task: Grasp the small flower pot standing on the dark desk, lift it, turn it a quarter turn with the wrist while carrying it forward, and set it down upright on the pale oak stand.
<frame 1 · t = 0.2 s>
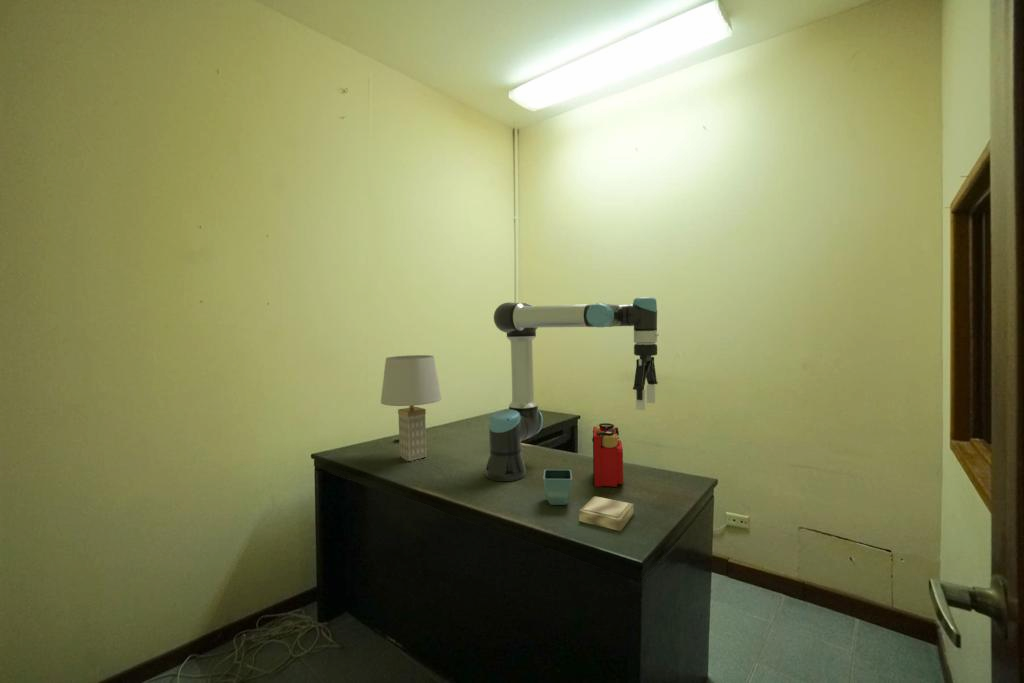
hand: (645, 406, 145), 28 cm above the table, fingers open, 13 cm apart
flower pot: (558, 502, 135), on the table
lamp: (413, 458, 184), on the table
red boxy piece: (607, 480, 154), on the table
oak stand: (606, 517, 124), on the table
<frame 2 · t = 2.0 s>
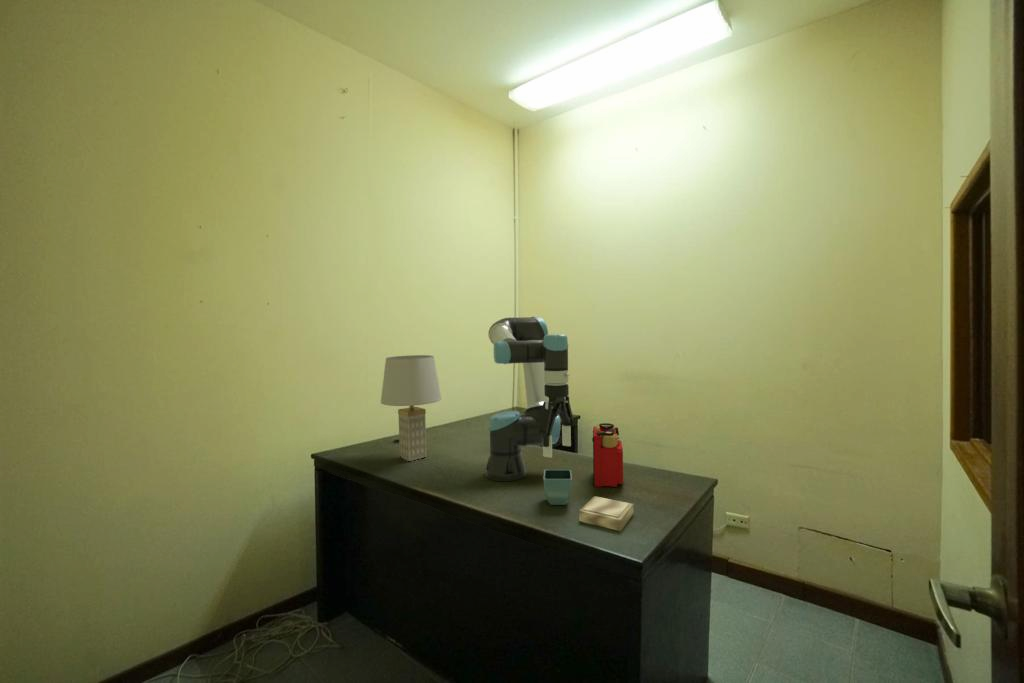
hand: (557, 451, 135), 16 cm above the table, fingers open, 13 cm apart
nothing on the table moved.
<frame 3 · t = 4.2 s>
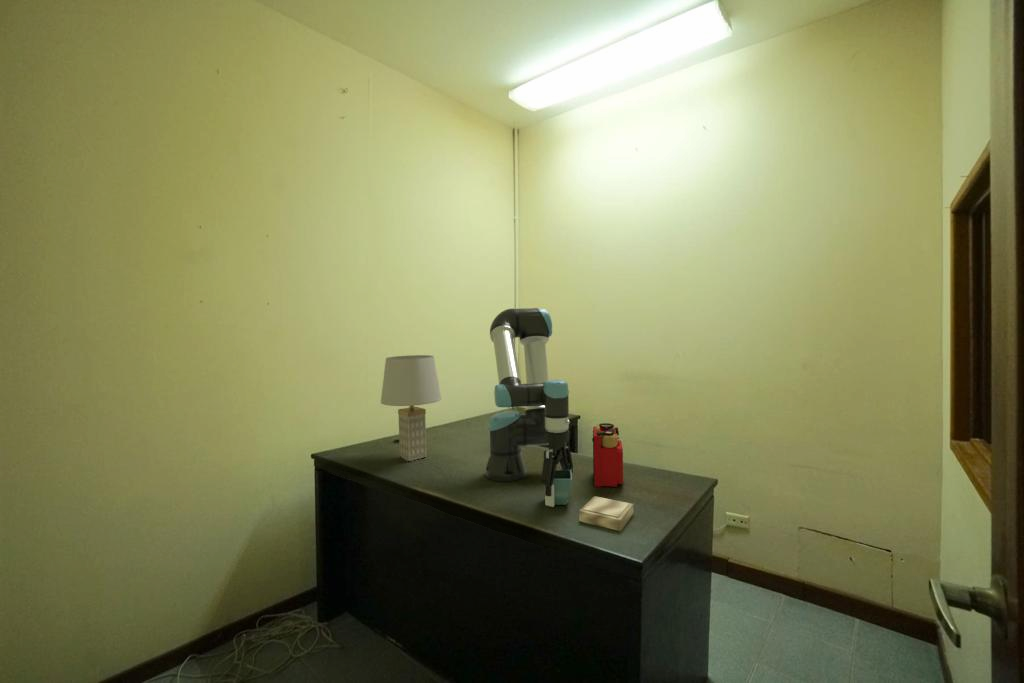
hand: (558, 498, 135), 1 cm above the table, fingers closed on flower pot, 11 cm apart
flower pot: (558, 502, 135), on the table, touching gripper
everything else where it was.
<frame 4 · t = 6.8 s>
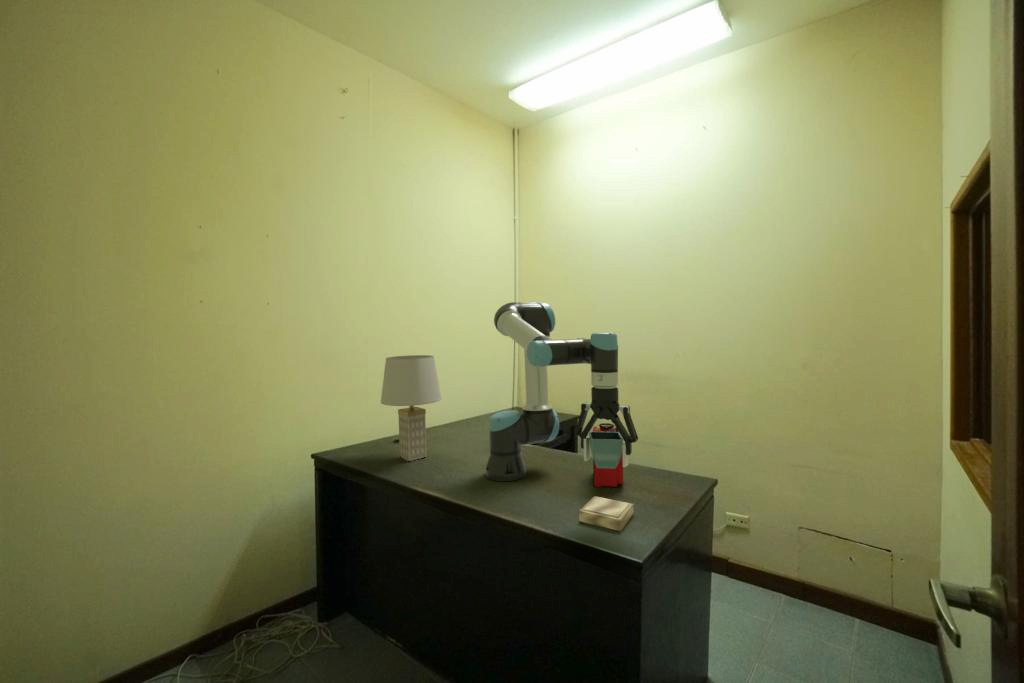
hand: (605, 462, 123), 16 cm above the table, fingers closed on flower pot, 11 cm apart
flower pot: (605, 466, 123), point 15 cm above the table, touching gripper
everything else where it was.
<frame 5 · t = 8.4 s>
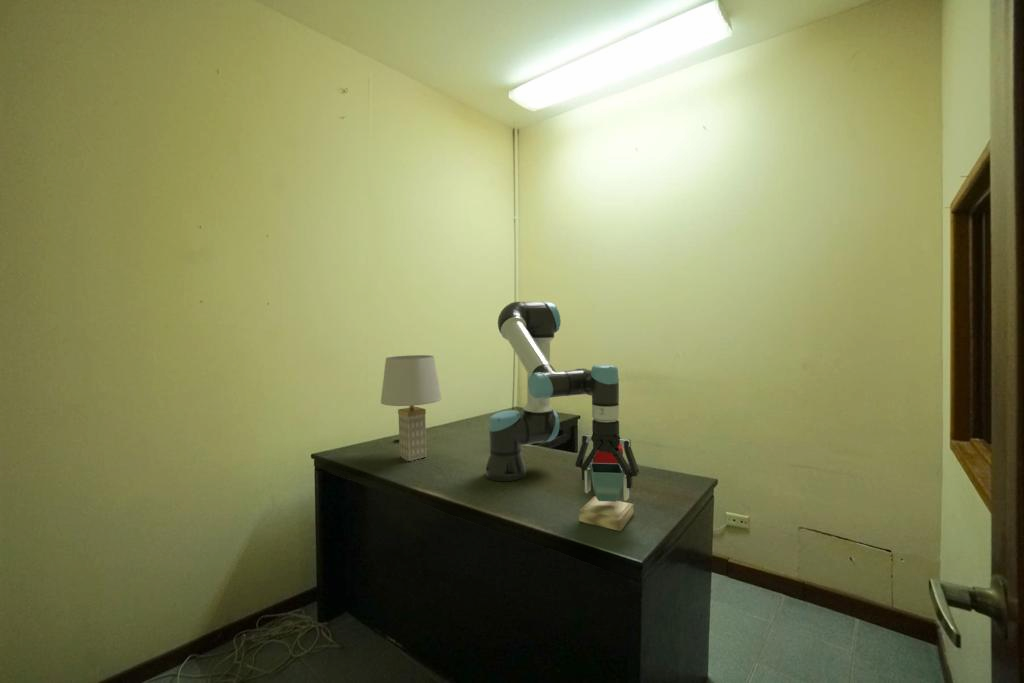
hand: (606, 495, 124), 7 cm above the table, fingers closed on flower pot, 11 cm apart
flower pot: (606, 499, 124), point 5 cm above the table, touching gripper
everything else where it was.
when the fingers open (5 cm above the table, at t = 9.7 s): flower pot drops 1 cm, resting on oak stand.
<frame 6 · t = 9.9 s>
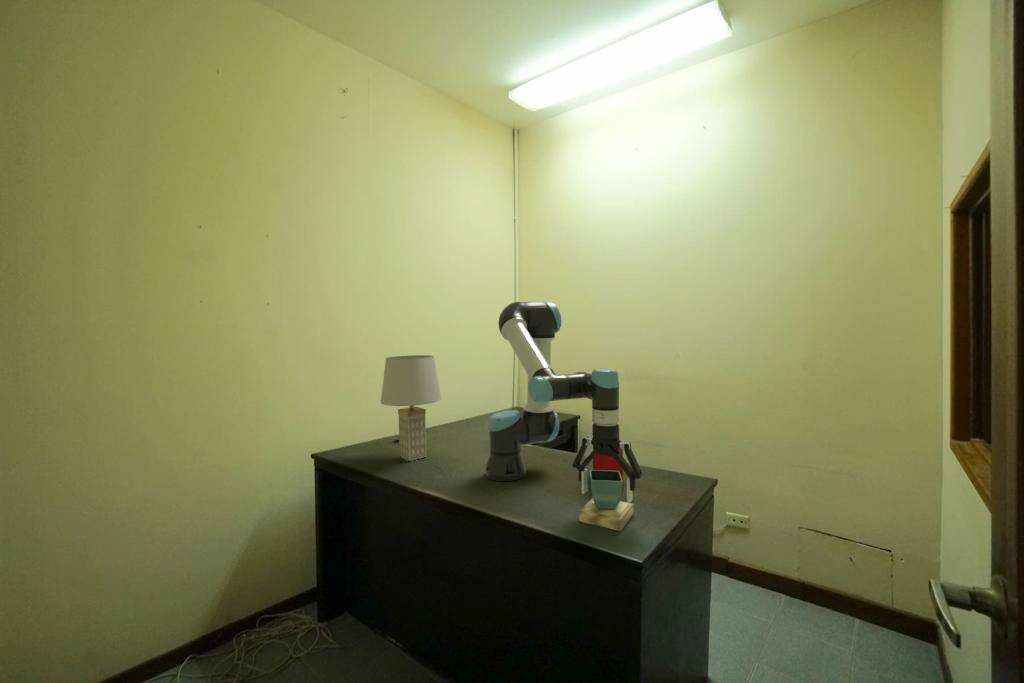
hand: (606, 496, 124), 6 cm above the table, fingers open, 13 cm apart
flower pot: (605, 506, 124), point 3 cm above the table, touching oak stand
everything else where it was.
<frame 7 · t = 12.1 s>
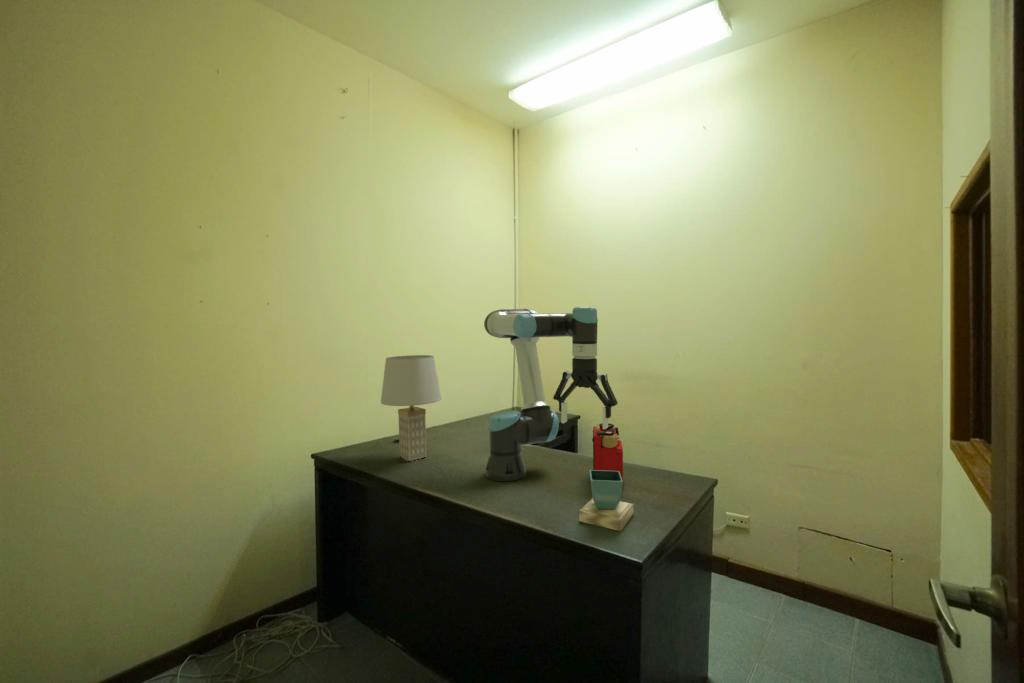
hand: (584, 425, 133), 24 cm above the table, fingers open, 13 cm apart
nothing on the table moved.
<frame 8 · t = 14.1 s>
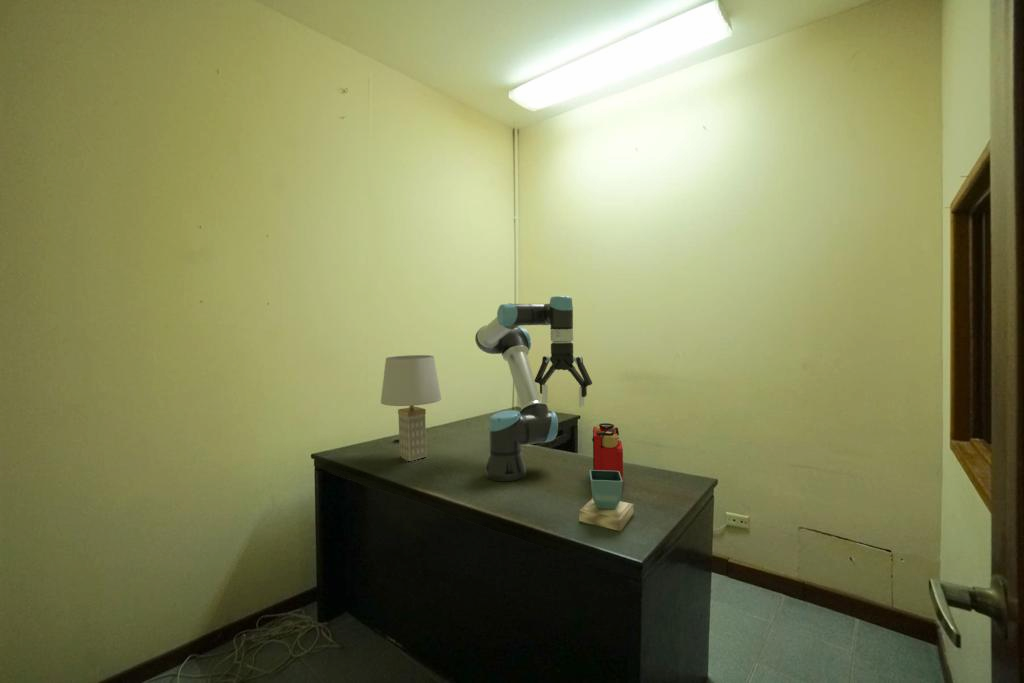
hand: (562, 405, 145), 29 cm above the table, fingers open, 13 cm apart
nothing on the table moved.
at the end: flower pot inside the target area on the oak stand (0.4 cm from its centre), point 3.1 cm above the oak stand's base; flower pot tilted 0°; the gripper is holding nothing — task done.
